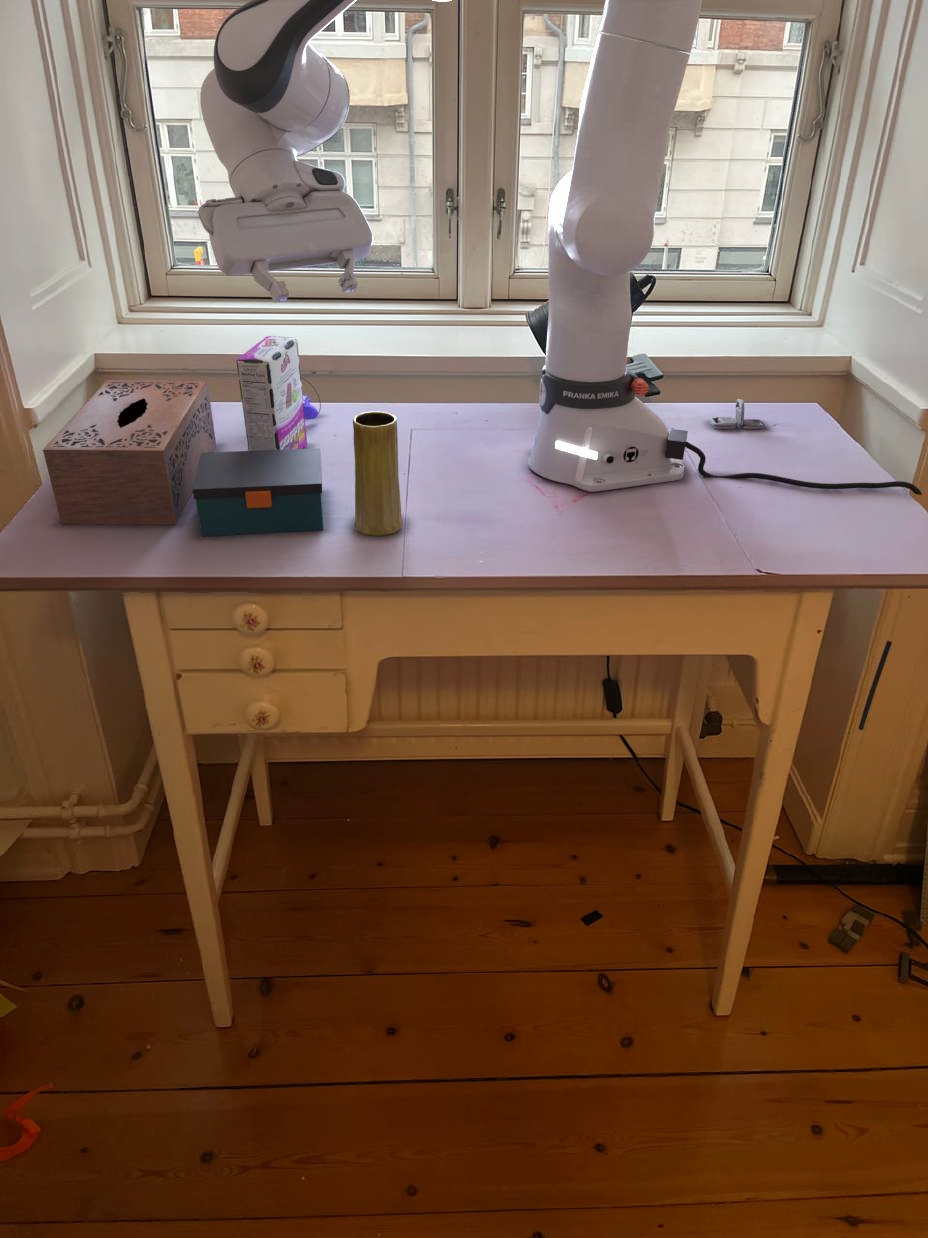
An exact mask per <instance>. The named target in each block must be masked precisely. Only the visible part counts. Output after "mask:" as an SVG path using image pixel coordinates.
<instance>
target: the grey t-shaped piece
mask: <svg viewBox="0 0 928 1238" xmlns="http://www.w3.org/2000/svg"><path fill="white" fill-rule="evenodd" d="M734 413H735V415H734V417H735V418H734V417H731V416H715V417H711V418H710V419H709V424H710V425H711V426H712V427H713V428H715V429H719V430H733V429H736V428H737V427H738V426H739V427H741V428H743V429H746V430H747V429H749V430H751V429H752V430H753V429H754V430H755V429H756V430H757V429H758V430H759V429H763V428H765V427H766V424H765V423H764V422H763V421H762V420H761V419H751V418H750V419H745V400H744V399H742V398H737V399H736V402H735V411H734Z"/></svg>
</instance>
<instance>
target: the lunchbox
mask: <svg viewBox="0 0 928 1238" xmlns="http://www.w3.org/2000/svg"><path fill="white" fill-rule="evenodd" d="M321 452H322V451H321V448H320V447H313V448H311V447H310V448H304V449H284V450H259V451H249V450H237V451H235V450H234V451H214V452H208V453H201V455H200V460H199V464H198V468H197V472H196V477H195V481H194V485H193V489H192V490H193V493H192V496H193V500H195V503H196V509H197V517H198V521H199V528H200V534H201V537H216V536H236V535H237V536H238V535H254V534H255V535H256V534H257V535H258V534H273V533H275V534H276V533H294V532H313V531H316V532H317V531H324V512H323V511H324V510H323V476H322V475H323V474H322V453H321Z"/></svg>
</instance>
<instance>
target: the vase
mask: <svg viewBox="0 0 928 1238" xmlns="http://www.w3.org/2000/svg"><path fill="white" fill-rule="evenodd" d="M352 428H353V429H352V430H353V453H354V454H353V455H354V508H355V509H354V528H355V529H356V530H357V532H359V533H360V534H364V535H366V536H371V537H383V536H389V535H392V534H395V533H397V532H399V531H400V530H401V529H402V527H403V524H404V523H403V518H402V504H401V491H400V477H399V444H398V419H397V417H396V415H394V414H393V413H390V412H385V411H376V410H375V411H367V412H361V413H358V414H356V415H355V416H353V419H352Z"/></svg>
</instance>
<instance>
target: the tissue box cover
mask: <svg viewBox="0 0 928 1238" xmlns="http://www.w3.org/2000/svg"><path fill="white" fill-rule="evenodd" d="M212 411H213V409H212V404H211V397H210V388H209V382H208V380H139V379H138V380H137V379H136V380H135V379H134V380H129V379H127V380H123V379H118V380H117V379H116V380H115V379H106V380H104V382H103V383H102V384H101V386H100V387H98V389H97V390H96V391H95V392H94V393H93V394H92V395H91V396H90V398H89V399H88V400H87V401H86V402H85V403H84V404H83V406H81V408H79V410H77V411H76V413H75V414H74V415H73V416H72V417H71V418H70V419H69V420H68V422H67V423H66V424H65V425H64V426H63V427H62V428H61V429H60V430H59V432H58V433H57V434H56V435H55V436H54V437H53V438H52V439H51V440H50V442H48V443H47V445H46V446H45V447H44V448H43V449H42V452H43V456H44V460H45V464H46V469H47V473H48V476H49V480H50V485H51V487H52V488H51V489H52V493H53V497H54V501H55V506H56V510H57V512H58V517H59V521H60V522H59V523H60V524H61V525H177V524H178V522H179V519H180V518H181V516H182V514H183V513H184V510H185V508H186V506H187V504H188V503H189V500H190V498H191V497H192V496H193V490H192V489H193V485H194V481H195V477H196V472H197V468H198V464H199V460H200V455H201V453H208V452H215V450H216V448H217V439H216V432H215V426H214V417H213V412H212Z"/></svg>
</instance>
